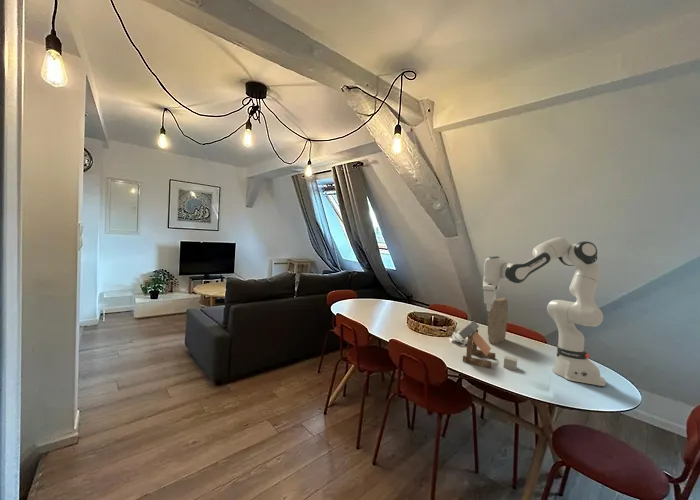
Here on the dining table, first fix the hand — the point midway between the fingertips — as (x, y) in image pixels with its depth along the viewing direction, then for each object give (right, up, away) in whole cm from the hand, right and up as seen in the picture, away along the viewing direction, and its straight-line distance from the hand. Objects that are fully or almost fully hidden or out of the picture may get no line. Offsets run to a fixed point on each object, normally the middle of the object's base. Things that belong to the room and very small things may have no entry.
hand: (489, 309), depth 174 cm
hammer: (-8, -20, +5) cm, 23 cm away
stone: (+11, -28, -7) cm, 31 cm away
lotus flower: (-6, -29, +31) cm, 43 cm away
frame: (-5, -29, +3) cm, 30 cm away
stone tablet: (+21, -30, +39) cm, 53 cm away
